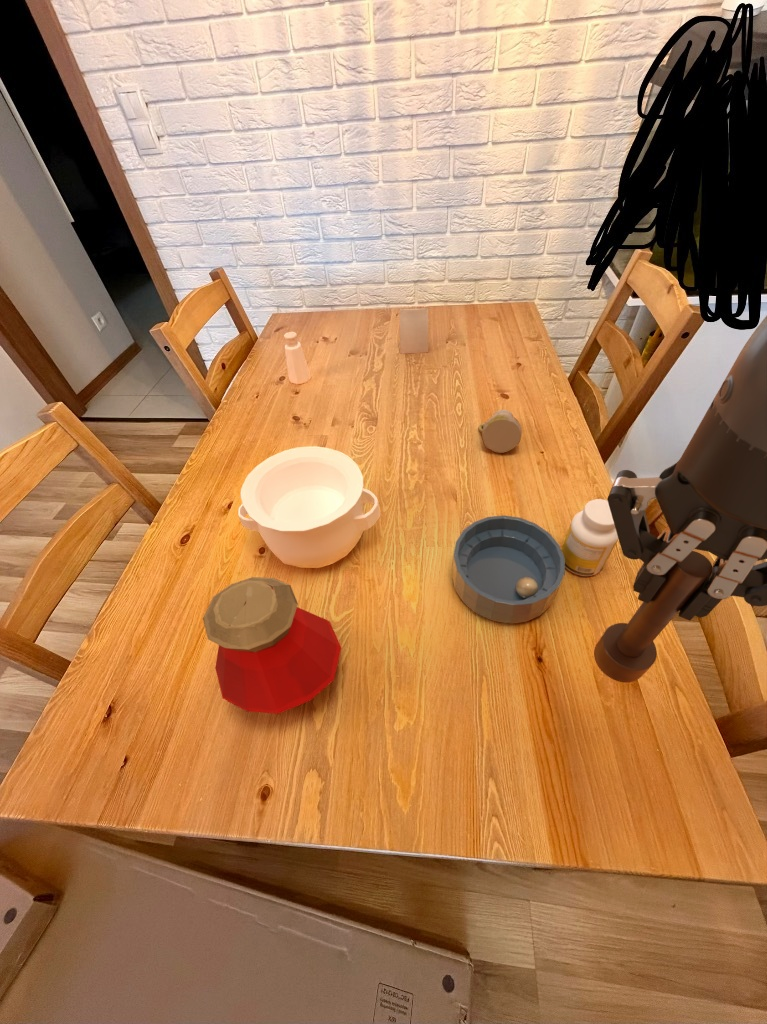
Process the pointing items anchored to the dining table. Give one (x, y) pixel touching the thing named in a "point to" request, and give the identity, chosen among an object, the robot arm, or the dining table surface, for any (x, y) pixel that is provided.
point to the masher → (649, 622)
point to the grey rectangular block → (414, 330)
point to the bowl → (506, 568)
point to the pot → (307, 505)
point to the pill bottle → (590, 539)
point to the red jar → (269, 646)
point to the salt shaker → (296, 360)
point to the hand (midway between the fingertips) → (664, 600)
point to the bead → (526, 587)
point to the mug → (501, 432)
